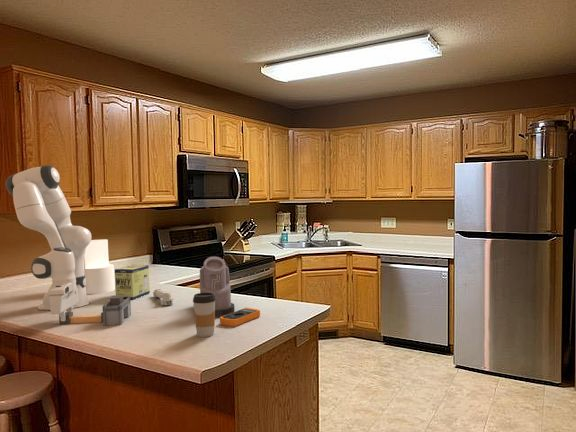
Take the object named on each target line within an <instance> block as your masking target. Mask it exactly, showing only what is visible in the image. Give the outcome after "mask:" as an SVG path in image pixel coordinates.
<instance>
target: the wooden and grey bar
mask: <svg viewBox="0 0 576 432" xmlns="http://www.w3.org/2000/svg"><path fill="white" fill-rule="evenodd" d="M65 316H66V320H65V321H61V318H60V315H59V314H58V319H59V320H58V322H59V325H70V324H82V323H83V324H84V323H85V324H87V323H103V311H102V312H100V314H93V315H92V314H90V315H89V314H88V315H86V314H85V315H74V312H73V311H72V312H67V311H65Z"/></svg>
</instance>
